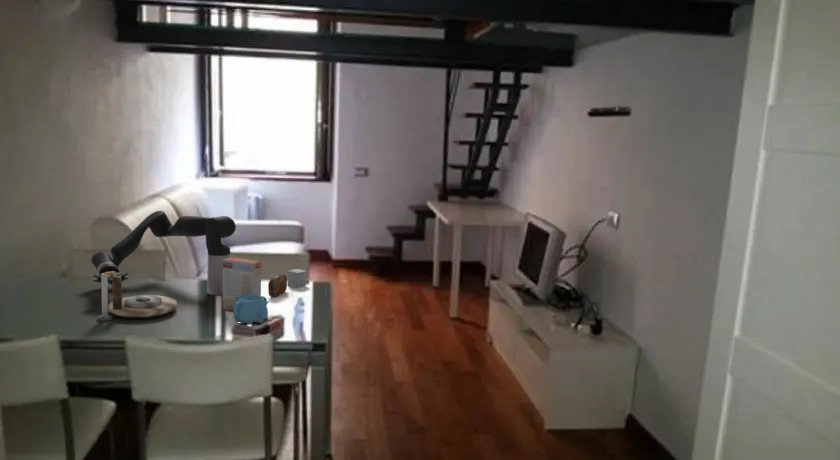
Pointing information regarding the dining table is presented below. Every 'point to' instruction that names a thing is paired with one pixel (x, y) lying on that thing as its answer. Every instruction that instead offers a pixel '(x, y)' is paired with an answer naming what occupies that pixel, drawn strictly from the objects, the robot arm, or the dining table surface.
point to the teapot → (250, 308)
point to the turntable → (138, 303)
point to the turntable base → (142, 317)
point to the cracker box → (240, 280)
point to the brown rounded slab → (277, 286)
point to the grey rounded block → (296, 278)
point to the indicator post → (105, 298)
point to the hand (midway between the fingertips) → (113, 282)
